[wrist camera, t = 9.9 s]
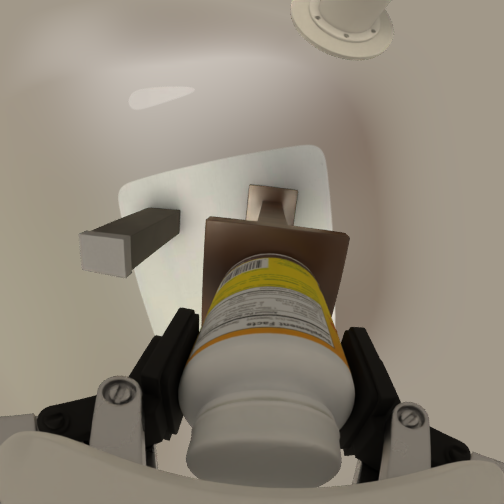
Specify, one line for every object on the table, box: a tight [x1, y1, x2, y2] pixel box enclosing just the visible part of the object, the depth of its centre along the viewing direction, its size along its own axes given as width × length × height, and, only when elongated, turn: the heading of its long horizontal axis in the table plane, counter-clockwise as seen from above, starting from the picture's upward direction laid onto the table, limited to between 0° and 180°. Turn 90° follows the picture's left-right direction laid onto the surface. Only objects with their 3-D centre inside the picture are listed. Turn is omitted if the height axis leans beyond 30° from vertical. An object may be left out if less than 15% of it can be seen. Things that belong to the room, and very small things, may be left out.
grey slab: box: [79, 208, 180, 278], centre depth 36 cm, size 4×6×20 cm
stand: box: [202, 185, 350, 325], centre depth 29 cm, size 8×8×30 cm
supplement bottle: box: [178, 253, 355, 488], centre depth 10 cm, size 6×6×10 cm
